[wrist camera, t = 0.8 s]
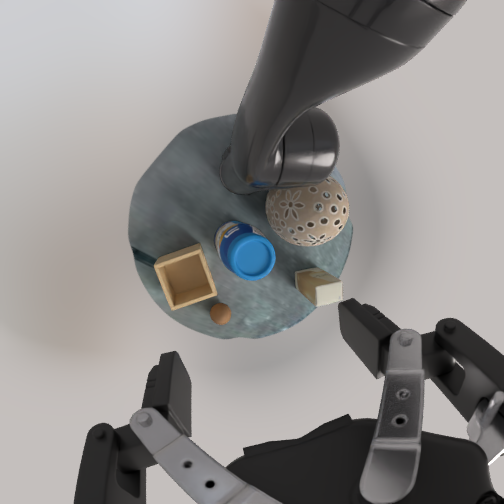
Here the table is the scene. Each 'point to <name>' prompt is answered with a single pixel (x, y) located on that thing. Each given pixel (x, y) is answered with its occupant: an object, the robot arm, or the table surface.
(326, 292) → the cosmetic box
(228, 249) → the beverage bottle
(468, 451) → the robot arm
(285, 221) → the ornament
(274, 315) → the table surface
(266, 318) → the table surface
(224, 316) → the egg
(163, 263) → the open box
